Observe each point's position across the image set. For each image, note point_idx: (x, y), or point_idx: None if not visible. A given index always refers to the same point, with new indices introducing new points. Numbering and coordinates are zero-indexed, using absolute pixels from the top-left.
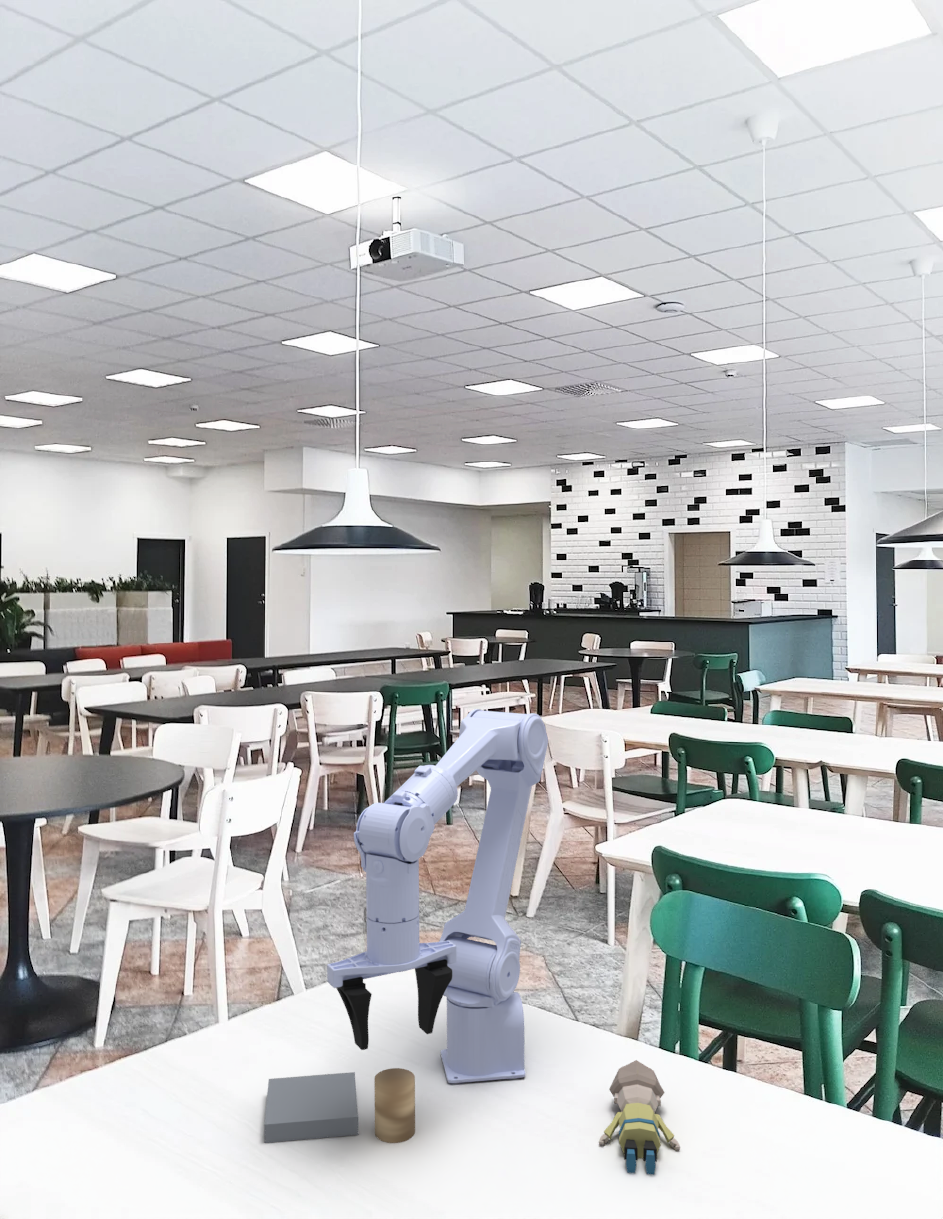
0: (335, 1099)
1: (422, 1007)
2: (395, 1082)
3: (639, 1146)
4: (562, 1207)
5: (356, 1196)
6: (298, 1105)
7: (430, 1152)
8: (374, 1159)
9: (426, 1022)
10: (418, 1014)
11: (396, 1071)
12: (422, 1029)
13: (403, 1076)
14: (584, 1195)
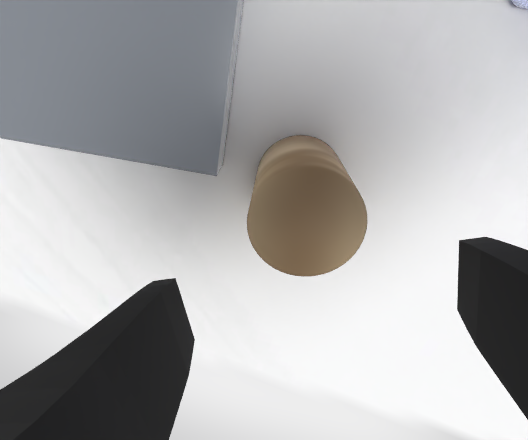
0: (171, 74)
1: (525, 329)
2: (301, 248)
3: None
4: (463, 431)
5: None
6: (74, 74)
7: None
8: (238, 252)
9: (482, 339)
10: (490, 262)
11: (323, 191)
12: (459, 274)
13: (333, 225)
14: (508, 422)
